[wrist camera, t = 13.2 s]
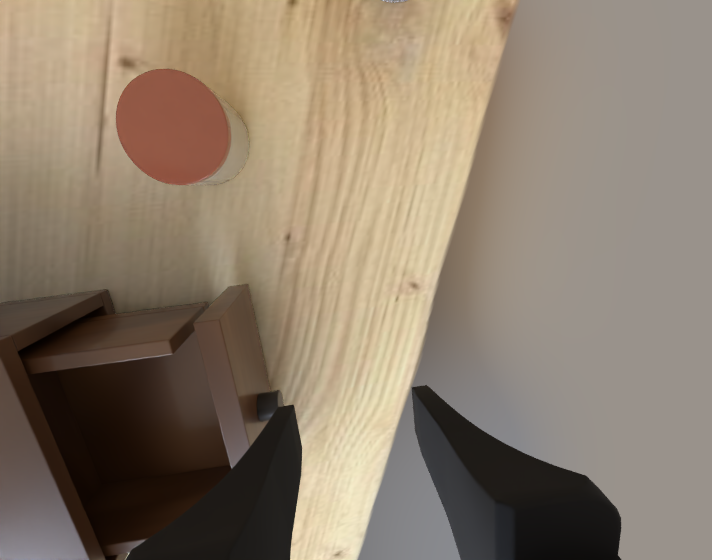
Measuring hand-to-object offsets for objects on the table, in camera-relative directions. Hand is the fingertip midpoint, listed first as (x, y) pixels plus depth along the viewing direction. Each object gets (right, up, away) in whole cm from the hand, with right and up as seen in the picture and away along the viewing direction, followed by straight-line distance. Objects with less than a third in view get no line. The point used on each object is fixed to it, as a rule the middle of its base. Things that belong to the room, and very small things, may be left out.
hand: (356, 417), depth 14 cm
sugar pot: (-8, +13, +6) cm, 17 cm away
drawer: (-11, -2, +9) cm, 15 cm away
